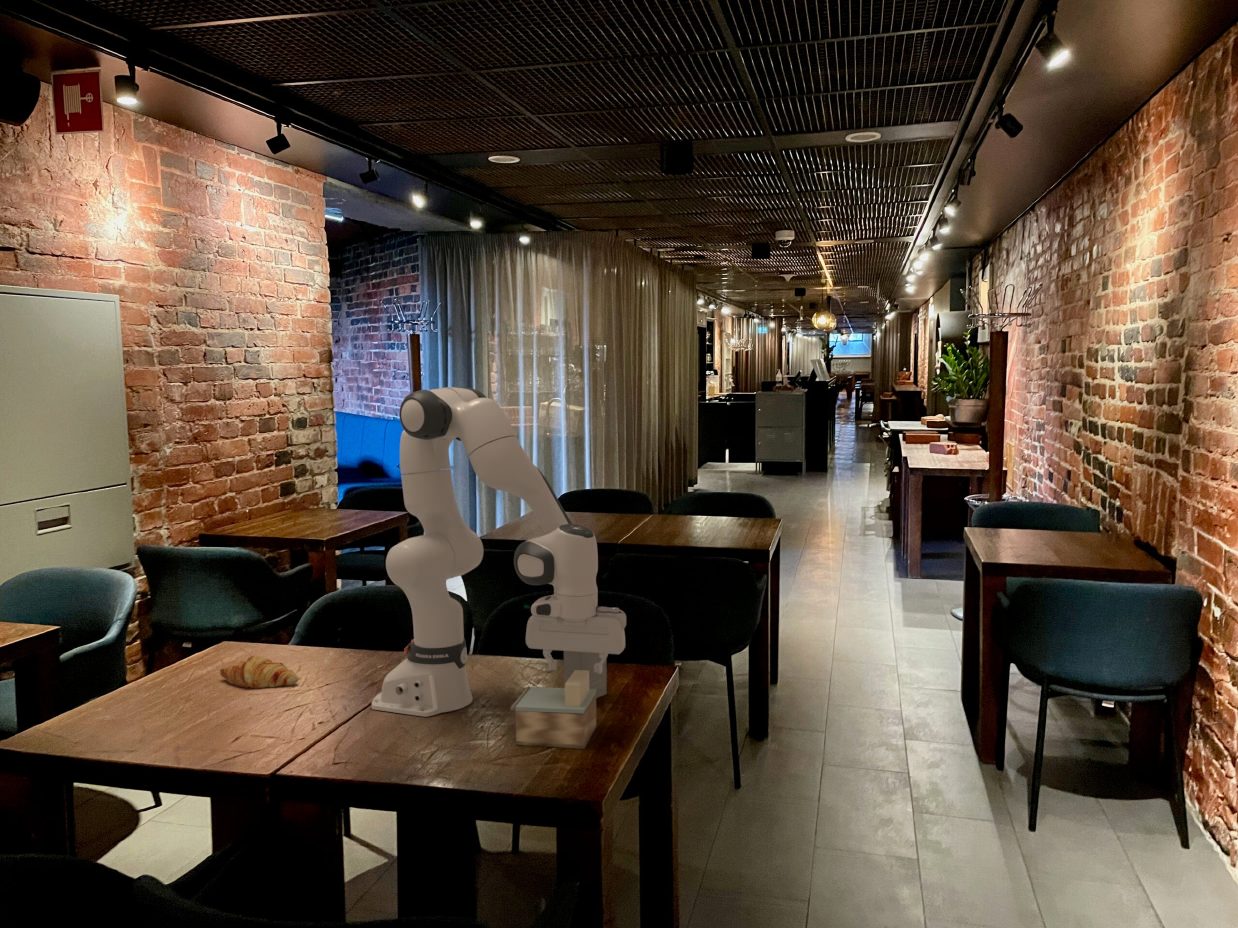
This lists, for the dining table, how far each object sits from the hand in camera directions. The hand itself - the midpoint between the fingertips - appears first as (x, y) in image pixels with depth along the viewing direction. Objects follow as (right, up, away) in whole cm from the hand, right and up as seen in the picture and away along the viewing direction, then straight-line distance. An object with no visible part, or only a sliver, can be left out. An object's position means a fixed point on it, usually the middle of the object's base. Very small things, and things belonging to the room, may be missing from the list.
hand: (575, 671), depth 187 cm
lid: (-4, -7, +1) cm, 8 cm away
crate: (-4, -14, +2) cm, 14 cm away
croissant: (-79, -12, +37) cm, 88 cm away
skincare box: (+1, -12, +24) cm, 27 cm away
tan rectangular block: (+1, -6, 0) cm, 6 cm away
